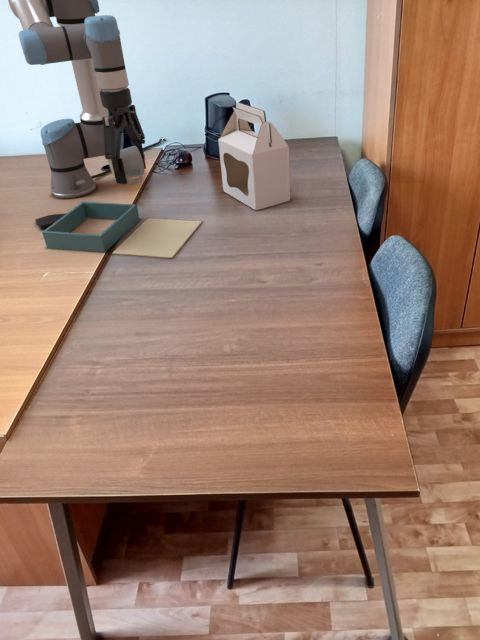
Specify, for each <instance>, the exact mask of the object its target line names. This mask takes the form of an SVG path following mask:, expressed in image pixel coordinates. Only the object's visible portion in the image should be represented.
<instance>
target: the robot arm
mask: <svg viewBox="0 0 480 640" xmlns="http://www.w3.org/2000/svg"><path fill="white" fill-rule="evenodd" d="M7 1H8V5H9V7H10V10H11V12H12V13H13V15H14V16H15V17H16V18H17V19H18V20H19V23H20V25H21V29H22V30H20V31H19V32H18V39H19V42H20V46H21V49H22V52H23V53H22V54H23V56H24V59H25V62H26V63H27V64H28V65H30V66H35V65H36V66H37V65H40V66H43V65H49V64H57V63H58V64H59V63H64V62H70V61H71V66H72V71H73V73H74V79H75V82H76V87H77V91H78V95H79V96H78V97H79V100H80V104H81V109H82V111H81V113H80V114H79V120H80V122H75V121H74V119H73V118H61V119H58V120H53V121H52V122H49V123H47V124H45V125H43V126H42V128H41V129H40V132H39V133H40V138H41V143H42V145H43V147H44V152H45V155H46V159H47V161H48V162H47V163H48V165H49V168H50V172H51V174H50V175H51V176H50V191H51V194H52V196H53V197H54V198H57V199H64V200H65V199H76V198H80V197H81V198H82V197H84V196H87V195H89V194H91V193H93V192H94V191H96V189H97V187H96V183H95V180H94V179H96V178H97V179H98V178H99V177H102V176H104V175H106V174H109V173H112V172H111V169H110V168H108V169H107V170H104V171H103V172H99V173H98V174H97V173H96V174H94V175H91V174H90V172H89V171H88V169H87V167H86V164H85V160H86V159H92V158H98V157H102V156H104V159H105V160H108V159H110V160H111V161H112V165H113V170H114V174H115V177H114V179H115V182H116V185H127V184H128V183H127V180H126V179H127V178H126V175H125V171H124V166H123V161H122V158H120V150H121V149H124V131H125V132H126V133H127V135H128V137H129V139H130V140H131V142H132V144H131V147H132V146H136V147H137V148H138V150H139V152H140V154H141V157H142V160H143V164H144V170H145V169H147V166H146V161H145V156H144V151H145V150H147V149H151V148H152V147H156V146H158V145H161V143H162V141H164V142H165V141H166V139H165V138H164V139H163V140H162V139H161V138H160V139H159V140H158V141H157V142H154V143H152V144H149V145H147V146H144V147H143V145H145V144H146V136H145V133H144V131H143V127H142V125H141V122H140V119H139V117H138V114H137V109H136V105H135V104H133V99H132V93H131V90H130V89H131V88H129V85H130V82H129V78H128V73H127V68H126V64H125V58H124V57H125V56H124V52H123V47H122V42H121V31H120V29H119V26H118V21H117V18H116V17H115V16H114V15H111V14H110V15H108V14H104V15H103V14H102V15H96V14H98V13H100V6H99V5H100V4H99V1H98V0H7ZM51 18H55V19H56V24H57V25H58V26H54V24H53V22H52V20H51Z"/></svg>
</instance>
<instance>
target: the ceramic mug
mask: <svg viewBox="0 0 480 640" xmlns="http://www.w3.org/2000/svg"><path fill="white" fill-rule="evenodd" d="M120 158H122V161H123V166H124V171H125V175H126V180H127V184H129V185H134V184H138V183H140V182H141V181H142V180H143V176H144V175H145V171H146V170H145V169H144V164H143V160H142V157H141V154H140V152H139V150H138V148H137V147H136V146H132V145H131V146H129V147H125V148H123V149H121V150H120ZM107 162H108V166H109V169H111V172H110V173H111V175H112V176H113V178H115V174H114V170H113V165H112V161H111V160H110V159H107Z"/></svg>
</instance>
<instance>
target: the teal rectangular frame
mask: <svg viewBox="0 0 480 640" xmlns="http://www.w3.org/2000/svg"><path fill="white" fill-rule="evenodd" d="M66 213H67V214H66ZM66 213H65V214H66V215H64V216H63V217H62V218H60V219H59V220H58V221H56V222H55V223H54V224H52V225H51V226H50V227H48V228H47V229H45V230H42V232H41V233H42V237H43V239H44V243H45V246H46V248H47V249H55V250H65V251H79V252H80V251H81V252H82V251H83V252H95V253H107V252H108V251H109V250H110V249H111V248H112V247H113V246H114V245H115V244H116V243H117V242H118V241H119V240H121V238H122V237H123V236H124V235H125V234H126V233H127V232H129V231H130V230H131V228H133V227H134V226H135V225H136V224H137V223H138V222H139V221H140V214H139V210H138V205H137V203H136V204H135V203H113V202H97V201H96V202H94V201H82V202H80V203H79V204H78V205H76V206H74V207H73V208H72V209H71V210H69V211H68V212H66ZM87 219H103V220H114V221H113V222H112V223H111V224H110V225H109V226H107V228H105V230H103V231H102V232H100V234H96V233H80V232H72V231H74V230H75V229H76V228H77V227H79V225H81V224H82V223H83V222H84V221H86V220H87Z"/></svg>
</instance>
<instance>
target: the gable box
mask: <svg viewBox="0 0 480 640" xmlns="http://www.w3.org/2000/svg"><path fill="white" fill-rule="evenodd" d="M232 109H233V112H232V114H231V115H230V117H229V118H228V121H227V122H226V124H225V126H224V128H223V130H222V131H221V134H220V136H219V137H218V140H217V141H218V151H219V160H220V161H219V162H220V171H221V182H222V191H223V192H224V193H225V194H227V195H229V196H231V197H232V198H234V199H236V200H237V201H239V202H241V203H242V204H244V205H246V206H247V207H249V208H250V209H253V210H254V211H260V210H263V209H267V208H269V207H274V206H276V205H280V204H284V203H287V202H290V201H291V186H290V185H291V183H290V182H291V181H290V146H289V145H288V143H287V141H285V139H284V137H283V136H282V135H281V133H280V132H279V130H277V128H276V126H275V125H274V123H272V122H271V121H267V116H266V115H267V114H266V112H265V110H264V109H260V108H258V107H254V106H252V105H248V104H246V103H242V102H236V107H235V106H232ZM249 123H251V124H254V125H256V126H259V131H258V132H255V131H253V130H252V129H251V127H250V124H249Z"/></svg>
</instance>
